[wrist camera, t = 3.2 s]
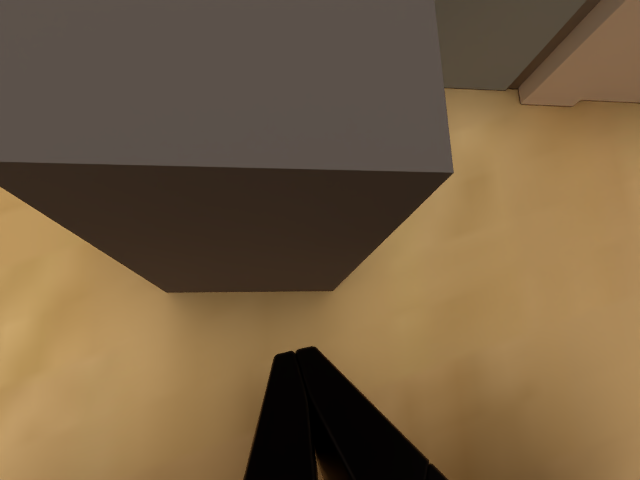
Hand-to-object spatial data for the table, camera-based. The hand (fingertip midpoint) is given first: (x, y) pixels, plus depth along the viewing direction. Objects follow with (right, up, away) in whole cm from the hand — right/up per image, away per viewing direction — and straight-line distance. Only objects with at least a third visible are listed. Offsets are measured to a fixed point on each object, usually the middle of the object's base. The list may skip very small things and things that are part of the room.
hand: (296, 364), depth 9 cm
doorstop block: (-2, +4, +8) cm, 9 cm away
